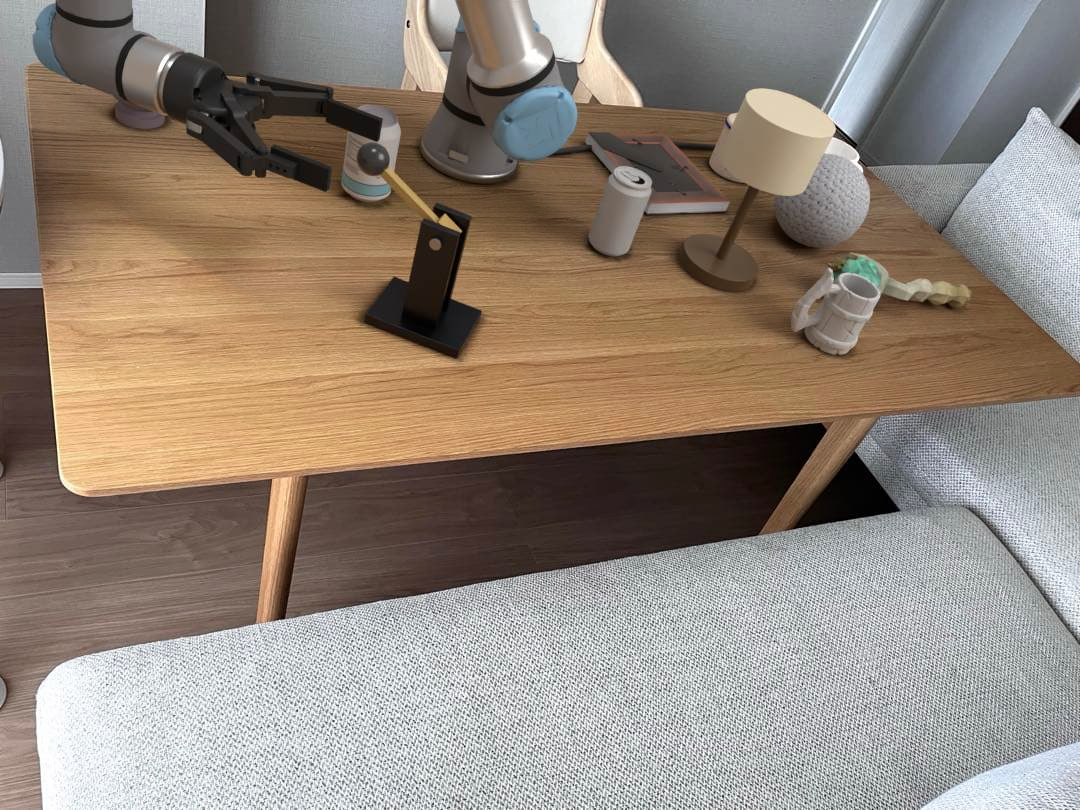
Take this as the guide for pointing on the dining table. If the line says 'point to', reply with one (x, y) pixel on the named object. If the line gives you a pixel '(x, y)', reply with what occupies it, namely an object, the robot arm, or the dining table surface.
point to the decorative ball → (826, 204)
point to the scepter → (890, 287)
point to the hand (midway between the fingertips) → (356, 153)
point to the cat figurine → (137, 112)
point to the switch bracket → (430, 290)
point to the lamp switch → (396, 181)
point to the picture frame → (660, 172)
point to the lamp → (759, 176)
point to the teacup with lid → (715, 157)
